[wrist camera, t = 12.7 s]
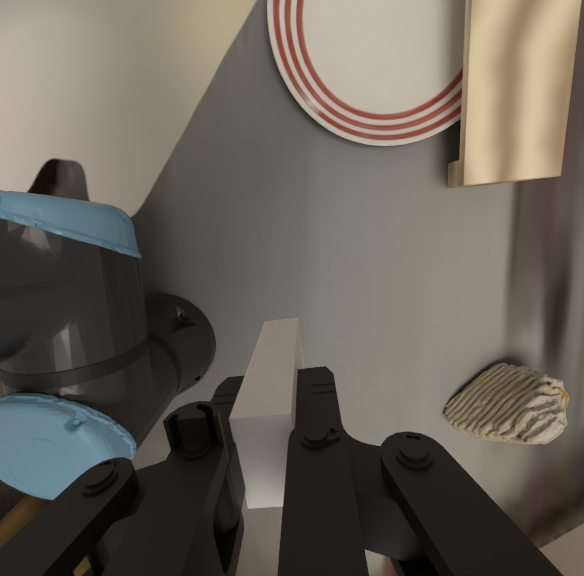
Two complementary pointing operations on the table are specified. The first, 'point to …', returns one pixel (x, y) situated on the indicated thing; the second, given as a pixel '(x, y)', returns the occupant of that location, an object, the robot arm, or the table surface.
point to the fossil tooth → (511, 406)
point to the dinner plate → (372, 64)
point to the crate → (21, 516)
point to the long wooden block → (515, 90)
